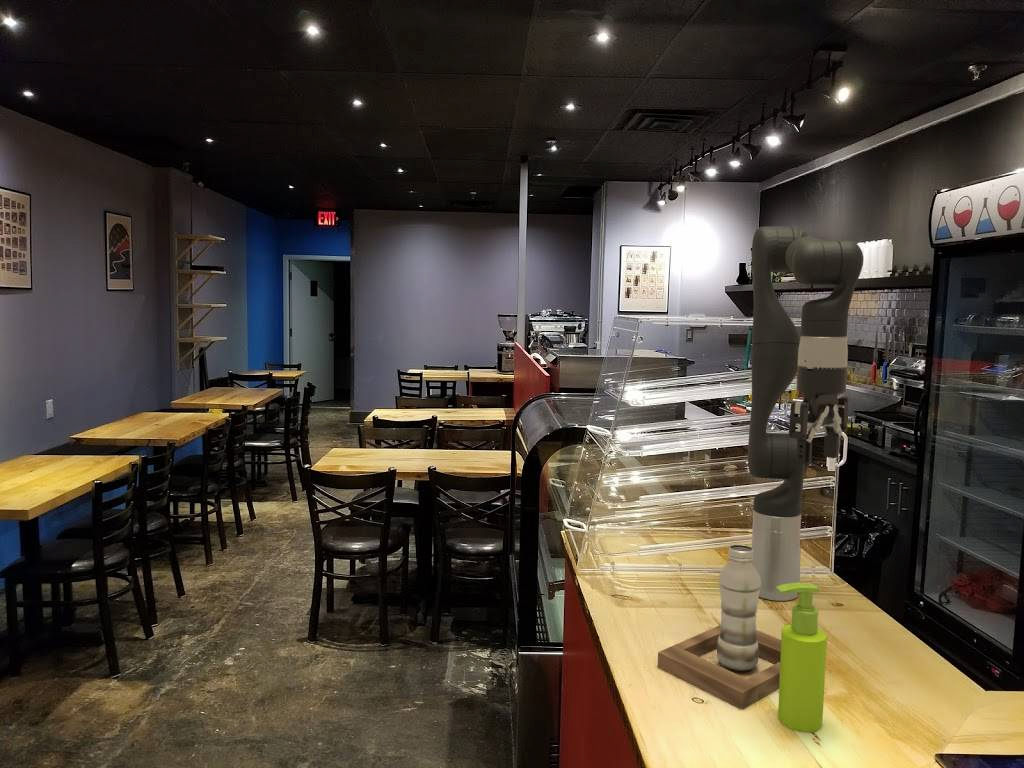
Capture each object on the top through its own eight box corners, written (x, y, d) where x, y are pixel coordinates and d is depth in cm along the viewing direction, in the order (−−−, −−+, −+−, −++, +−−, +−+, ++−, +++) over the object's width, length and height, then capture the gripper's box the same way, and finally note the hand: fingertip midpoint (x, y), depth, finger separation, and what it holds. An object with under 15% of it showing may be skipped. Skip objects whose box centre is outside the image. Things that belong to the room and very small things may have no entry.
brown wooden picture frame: (731, 633, 131) (731, 620, 131) (814, 668, 118) (815, 653, 118) (657, 666, 119) (658, 652, 118) (742, 709, 106) (742, 693, 106)
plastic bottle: (761, 678, 115) (766, 555, 113) (717, 674, 116) (721, 553, 114) (755, 658, 121) (760, 542, 119) (713, 655, 123) (717, 540, 121)
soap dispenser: (764, 710, 106) (769, 577, 104) (809, 708, 107) (816, 576, 104) (782, 733, 100) (788, 594, 98) (830, 731, 101) (837, 592, 99)
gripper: (823, 360, 127) (818, 452, 128) (777, 364, 118) (773, 462, 120) (865, 363, 121) (860, 459, 123) (821, 367, 112) (816, 470, 114)
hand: (817, 460), depth 121 cm, fingers open, 8 cm apart
